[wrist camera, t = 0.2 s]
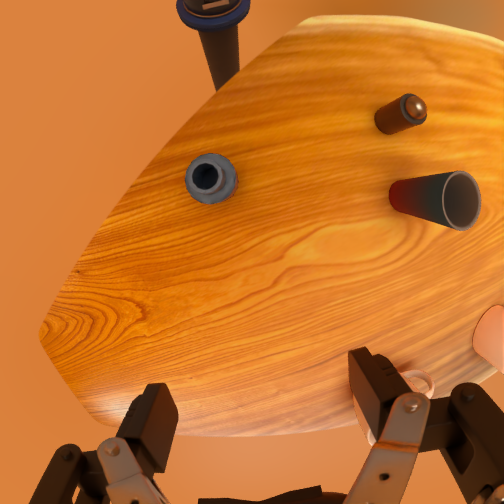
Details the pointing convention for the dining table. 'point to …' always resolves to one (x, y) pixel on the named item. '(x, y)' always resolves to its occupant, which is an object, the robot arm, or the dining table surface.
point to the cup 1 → (439, 199)
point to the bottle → (211, 179)
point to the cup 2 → (491, 337)
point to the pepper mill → (401, 114)
